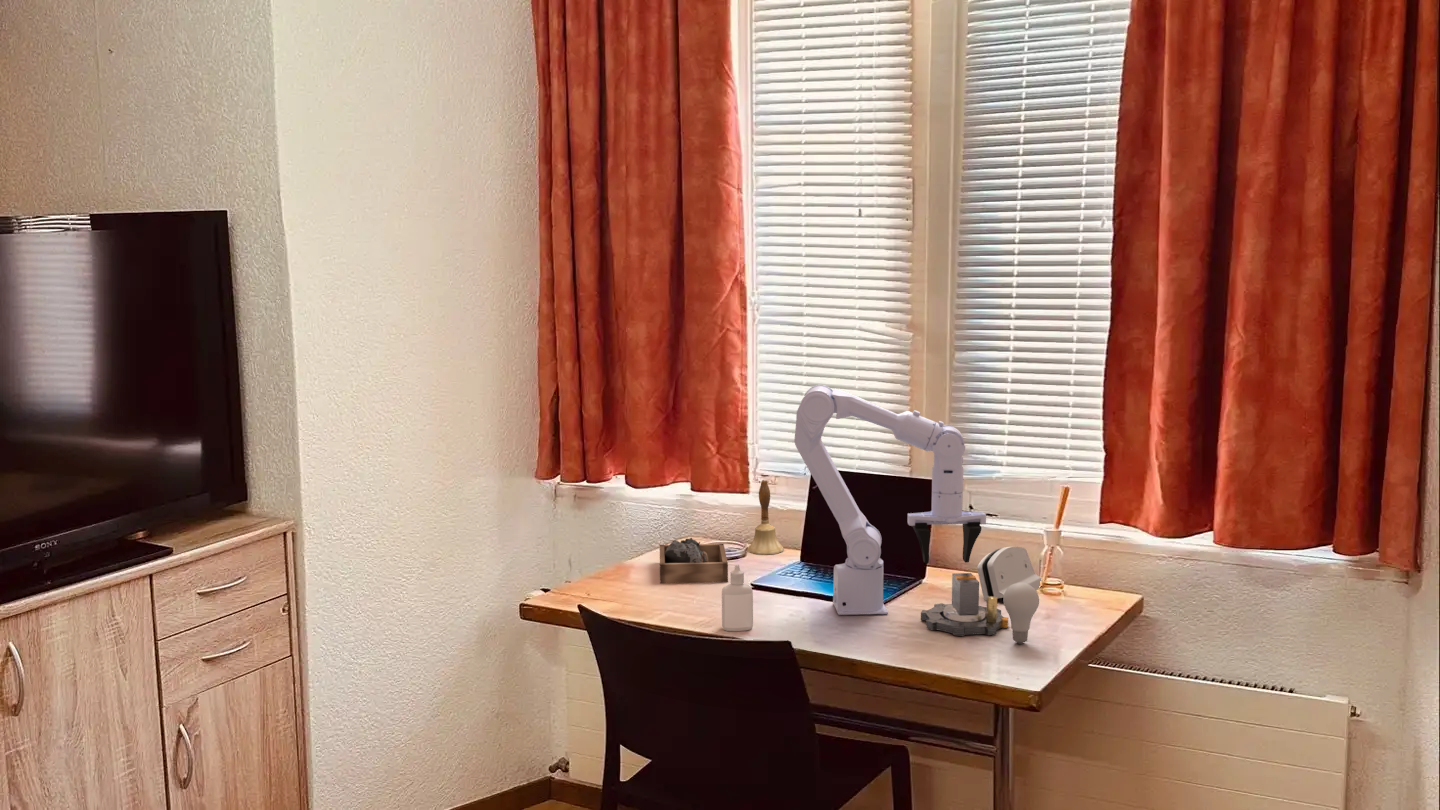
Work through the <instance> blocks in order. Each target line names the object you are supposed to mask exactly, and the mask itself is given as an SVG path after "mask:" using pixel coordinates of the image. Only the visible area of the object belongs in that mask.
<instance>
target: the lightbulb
mask: <svg viewBox="0 0 1440 810" xmlns="http://www.w3.org/2000/svg"><path fill="white" fill-rule="evenodd" d="M1002 602H1003V606H1004V608H1005V610H1006V612H1007V613H1008V616H1009V620H1010V627H1011V629H1012V640H1013V641H1014V642H1015V643H1016V644H1017V645H1022V644H1024V643H1026V642H1028V636H1029V630H1030V628H1031V621H1032V619H1033V617H1034V615H1035V613H1036V612H1037V610H1038V608H1039V606H1040V596H1039V594H1038V591H1037V590H1035V589H1034V588H1033V587H1032V586H1031V585H1029V584H1027V583H1015V584H1013V585H1011V586H1009V587H1008V588H1007V590H1006V591H1005V593H1004V597H1003V601H1002Z"/></svg>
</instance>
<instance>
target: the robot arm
mask: <svg viewBox="0 0 1440 810" xmlns="http://www.w3.org/2000/svg"><path fill="white" fill-rule="evenodd" d="M795 413H796V414H795V415H796V416H795V417H796V418H795V419H796V420H795V430H794V446H795V448H796V449H797V451H798V453H799V456H800V457H801V458H802V460H803V462H804V464H805V465H806V468H807V470H808V471H809V473H810V475H811V476H812V478H813V480H814V482H815V484H816V485H817V488H818V489H819V491H820V493H821V495H822V497H823V498H824V500H825V502H826V504H827V506H828V507H829V509H830V511H831V513H832V515H833V517H834V518H835V520H836V522H837V524H838V526H839V529H840V532H841V536H842V538H843V539H844V542H845V544H846V554H847V557H846V559H845V562H844V563H839V564H835V565H834V566H833V586H832V587H833V595H832V604H833V606H834V608H835V611H836V613H837V615H839V616H851V615H887V614H888V613H889V611H888V608H887V607H886V606H885V604H884V560H883V559H882V558H881V554H882V548H881V546H882V542H883V541H882V540H883V539H882V535H881V533H880V531H879V529H877V528H876V527H875V526H874V525H872V524H871V523H870V522H869V520H868V519H867V517H866V516H865V515H864V513H863V512H862V511H861V510H860V508H859V506H858V505H857V503H856V501H855V498H854V497H853V495H852V493H851V492H850V489H849V488H848V486H847V485H846V482H845V480H844V479H843V477H842V475H841V473H840V472H839V470H838V468H837V466H836V464H835V462H834V461H833V459H832V457H831V455H830V453H829V452H828V450H827V448H826V446H825V444H824V443H823V441H822V437H823V433H824V430H825V427H826V425H827V424H828V423H829V422H830V419H831V418H832V417H833V414H835V415H836V417H835V419H836V420H839V419H844V418H848V417H849V418H850V417H855V418H857V419H860V420H863V421H864V422H865V421H866V422H867V423H868V422H869V423H872V424H873V425H877V426H878V427H882V428H885V429H889V430H891V431H892V433H893V435H894V438H895V439H896V440H897V441H900V442H903V443H905V444H908V445H911V446H912V447H915V448H918V449H920V450H922V451H925V452H931V451H932V452H933V465H932V468H931V474H932V475H931V476H932V477H931V478H932V479H931V510H930V511H924V512H923V511H922V512H913V513H912V512H910V513H907V525H908V526H909V527H910V526H911V527H912V529H913V531H914V533H915V534H916V538H917V540H918V542H919V543H918V544H919V547H920V550H921V555H922V562H923V563H924V564H929V563H930V552H929V550H930V548H929V547H930V534H931V531H930V529H929V525H962V537H963V538H962V540H963V541H962V542H963V543H962V544H963V545H962V546H963V547H962V560H963V562H964V563H970V558H971V554H972V551H973V548H974V546H975V543H976V541H977V539H978V537H979V536H980V534H981V531H982V526H981V525H987V514H986V513H985V512H982V511H964V510H963V502H964V501H963V499H964V498H963V494H964V493H963V492H964V467H963V463H964V453H965V451H966V445H965V441H964V436H963V434H962V433H961V431H960V430H959V429H957V428H956V427H955V426H953V425H952V424H945V422H943V421H941V420H938V422H937V421H935V420H932V419H929V418H927V417H924V416H923V415H921V412H920V411H919V410H916V409H914V410H913V411H909V410H905V411H903V412H901V413H896V412H894V411H892V410H890V409H887V408H884V407H882V406H880V405H877V404H876V403H873V402H872V401H869V400H866V399H864V398H861V397H860V396H857V395H855V394H853V393H850V392H847V391H844V390H841V389H839V388H833V389H832V388H831V387H829V386H827V385H825V384H817V385H814V386H811V387H810V388H809V389H807V391H806V393H805V395H804V397H803V398H802V400H801V401H800V404H799V406H798V408H797V410H796V412H795Z"/></svg>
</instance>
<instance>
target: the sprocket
mask: <svg viewBox="0 0 1440 810" xmlns="http://www.w3.org/2000/svg"><path fill="white" fill-rule="evenodd" d="M951 604H952V603H949V604H948V603H947V604H945V603H942V602H941V603H940V602H939V603H935V604H934V606H933V607H932V608H929V609H926V610H925V609H921V611H920V621H925V622H926V625H925V626H926V628H927V629H928V630H931V631H941V632H946V633H949V634H953V636H957V637H959V636H960V637H965V635H968V636H969V635H986V636H991V635H992V636H993V635H997V631H998V630H1000V629H1002V628H1003V629H1004V628H1005V629H1006V628H1007V629H1008V627H1009V617H1008V616H1007V617H1005V616H1003V615H1002V609H999V608H998V599H997V597H994V596H988V597H987V601H986V606H982V605H979V606H980V607H982V608H984V609H985V620H984V621H982V622H968V623H960V622H956V621H951V620H947V619H944V618H943V611H944V607H945V606H948V605H951Z"/></svg>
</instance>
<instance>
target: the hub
mask: <svg viewBox="0 0 1440 810" xmlns="http://www.w3.org/2000/svg"><path fill="white" fill-rule="evenodd" d="M950 604H951V605H948V606H945V607H944V611H943V618H944V619H947V620H951V621H956V622H960V623H968V622H982V621H984V620H985V609H984V608H982V607H983V606H982V607H980V606H981V605H979V613H978V614H967V615H959V613H958V612H957V611H956V610H955V608H954V607H953V606H952V603H950Z"/></svg>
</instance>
